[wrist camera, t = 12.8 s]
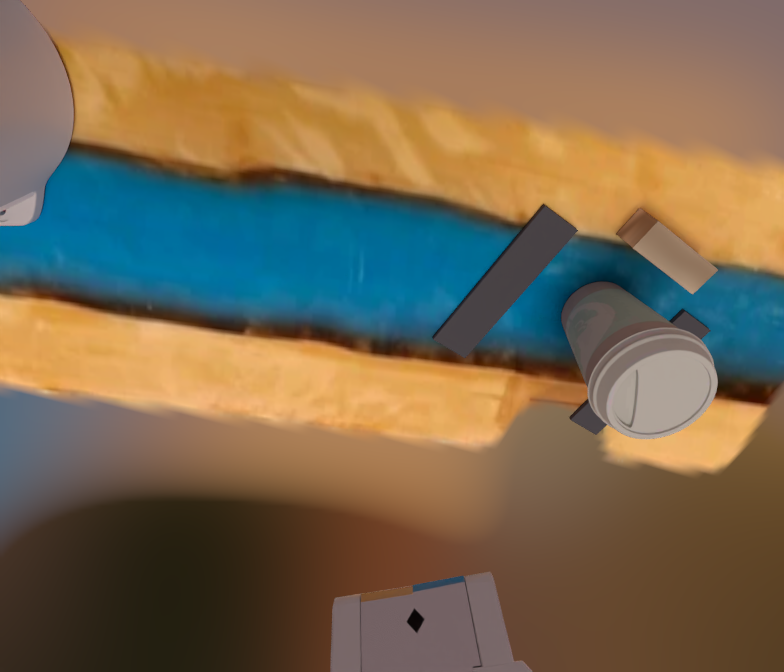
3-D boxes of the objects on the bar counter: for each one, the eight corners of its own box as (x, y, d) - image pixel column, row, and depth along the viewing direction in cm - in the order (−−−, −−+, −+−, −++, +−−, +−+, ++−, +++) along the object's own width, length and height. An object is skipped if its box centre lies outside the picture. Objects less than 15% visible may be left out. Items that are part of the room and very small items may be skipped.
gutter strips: (594, 432, 54) (595, 434, 54) (432, 337, 48) (433, 339, 47) (707, 328, 49) (710, 330, 49) (543, 204, 42) (545, 205, 42)
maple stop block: (673, 278, 46) (692, 294, 44) (616, 233, 44) (632, 248, 41) (697, 254, 45) (718, 269, 43) (640, 207, 43) (658, 220, 40)
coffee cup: (580, 250, 44) (649, 325, 34) (665, 286, 46) (754, 367, 36) (526, 336, 48) (573, 426, 38) (606, 365, 50) (671, 458, 40)
